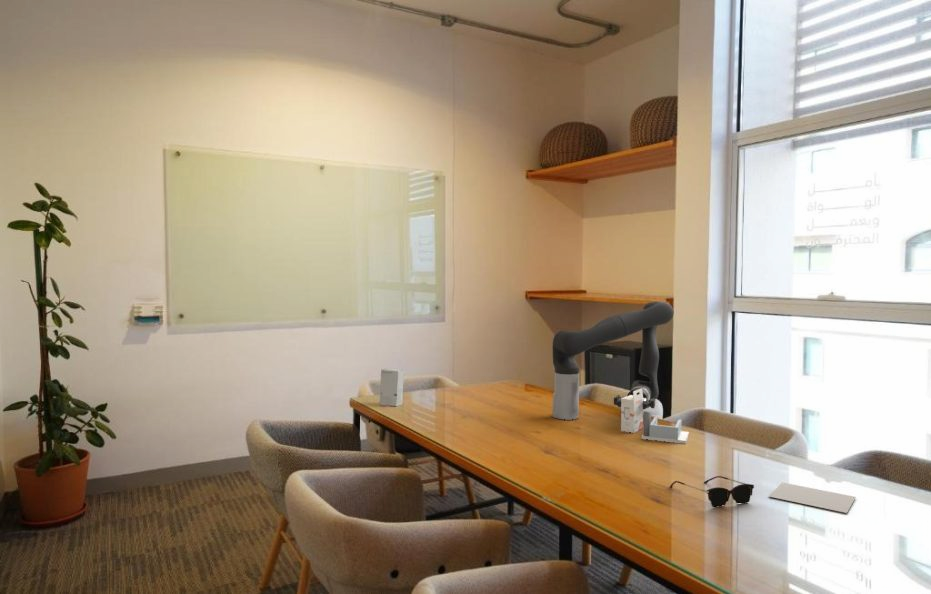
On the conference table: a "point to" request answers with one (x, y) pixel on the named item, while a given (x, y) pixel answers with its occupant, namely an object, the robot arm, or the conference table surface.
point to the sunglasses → (726, 492)
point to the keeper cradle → (662, 430)
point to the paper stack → (813, 497)
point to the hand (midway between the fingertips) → (631, 405)
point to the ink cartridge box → (632, 412)
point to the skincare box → (391, 387)
